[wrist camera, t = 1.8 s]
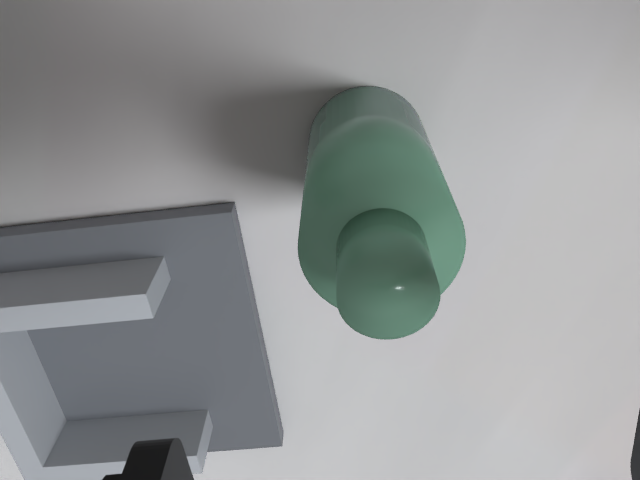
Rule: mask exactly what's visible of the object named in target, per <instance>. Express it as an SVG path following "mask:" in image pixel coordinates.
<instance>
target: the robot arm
mask: <svg viewBox="0 0 640 480" xmlns="http://www.w3.org/2000/svg"><path fill="white" fill-rule="evenodd" d="M631 475H632V480H640V410H639V416H638V422H637V428H636V433H635V439H634V445H633V451H632V457H631ZM102 480H194V478H193V475H192V472H191V469H190V466H189V463H188V460H187V456H186V453H185V450H184V447H183V444H182V442H181V440H180V439H179V438H168V439H157V440H145V441H137V442H135V443H134V444H133V446H132V447H131V450H130V452H129V455H128V458H127V461H126V464H125V466H124V469H123V472H122V474H111V475H105V477H104V478H103V479H102Z"/></svg>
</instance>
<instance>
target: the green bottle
mask: <svg viewBox="0 0 640 480" xmlns="http://www.w3.org/2000/svg"><path fill="white" fill-rule="evenodd" d="M465 245H466V238H465V229H464V225H463V221H462V219H461V217H460V214H459V212H458V209H457V207H456V205H455V202H454V200H453V197H452V195H451V193H450V190H449V188H448V185H447V183H446V181H445V178H444V176H443V173H442V171H441V169H440V166H439V164H438V161H437V159H436V157H435V154H434V152H433V149H432V147H431V145H430V142H429V140H428V137H427V135H426V132H425V130H424V128H423V125H422V123H421V120H420V118H419V116H418V114H417V112H416V111H415V109H414V108H413V107H412V106H411V104H410V103H409V102H408V101H406V100H405V99H404V98H403V97H401V96H400V95H398V94H397V93H395V92H393V91H390V90H387V89H385V88H380V87H373V86H364V87H357V88H352V89H349V90H346V91H344V92H342V93H340V94H338V95H336V96H335V97H333V98H332V99H331V100H329V101H328V102H327V103H326V104H325V105H324V106H323V107H322V108H321V110H320V111H319V113H318V114H317V116H316V118H315V120H314V122H313V124H312V127H311V131H310V136H309V145H308V155H307V164H306V173H305V182H304V191H303V200H302V210H301V219H300V228H299V237H298V256H299V261H300V265H301V268H302V271H303V273H304V275H305V277H306V279H307V281H308V282H309V284H310V285H311V286H312V288H313V289H314V290H315V291H316V292H317V293H318V294H319V295H320V296H321V297H322V298H323V299H325V300H326V301H327V302H329V303H330V304H332V305H333V306H335V307H337V308H338V310H339V312H340V315H341V316H342V318H343V319H344V321H345V322H346V323H347V324H348V325H349V326H350V327H351V328H352V329H354V330H355V331H357V332H359V333H360V334H363V335H365V336H368V337H371V338H376V339H397V338H401V337H405V336H408V335H411V334H413V333H415V332H417V331H418V330H420V329H421V328H423V327H424V326H425V325H426V324H427V323H428V322H429V321H430V320H431V319H432V317H433V316H434V315H435V313H436V311H437V309H438V306H439V302H440V295H441V294H442V293H443V292H444V291H445V290H446V289H447V288H448V286H449V285H450V284H451V283H452V281H453V280H454V278H455V277H456V275H457V273H458V271H459V269H460V267H461V264H462V262H463V258H464V254H465Z"/></svg>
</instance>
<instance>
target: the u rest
mask: <svg viewBox="0 0 640 480" xmlns="http://www.w3.org/2000/svg"><path fill="white" fill-rule="evenodd" d="M0 434H1V436H2V438H3V439H4V441H5V443H6V445H7V447H8V449H9V451H10V453H11V455H12V457H13V459H14V461H15V463H16V465H17V467H18V468H19V470H20V472H21V474H22V476H23V478H24V480H102V479H103V478H104V477H105V475H111V474H122V472H123V469H124V466H125V464H126V461H127V458H128V455H129V452H130V450H131V447H132V446H133V444H134V443H135V442H137V441H145V440H157V439H168V438H179V439H180V440H181V442H182V444H183V447H184V450H185V453H186V456H187V460H188V463H189V466H190V469H191V472H192V474H200V473H202V472H203V467H204V463H205V459H206V455H207V452H214V451H227V450H240V449H253V448H266V447H279V446H282V443H283V427H282V423H281V418H280V413H279V409H278V404H277V399H276V395H275V390H274V385H273V380H272V376H271V371H270V366H269V362H268V357H267V352H266V347H265V343H264V338H263V333H262V329H261V324H260V319H259V314H258V310H257V305H256V300H255V296H254V291H253V286H252V282H251V277H250V272H249V267H248V263H247V258H246V253H245V249H244V244H243V239H242V234H241V230H240V225H239V220H238V216H237V211H236V206H235V202H233V203H224V204H215V205H205V206H196V207H187V208H177V209H168V210H159V211H150V212H140V213H131V214H122V215H113V216H103V217H94V218H85V219H76V220H66V221H57V222H48V223H39V224H29V225H20V226H11V227H2V228H0Z"/></svg>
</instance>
